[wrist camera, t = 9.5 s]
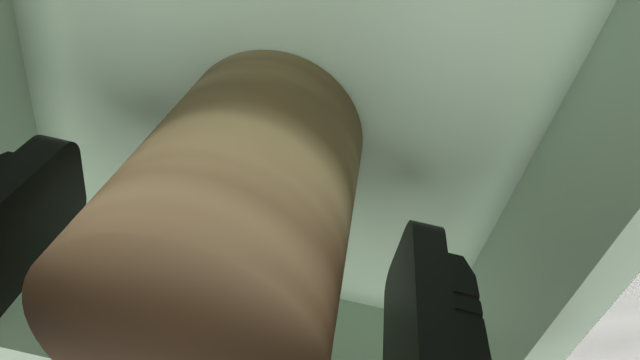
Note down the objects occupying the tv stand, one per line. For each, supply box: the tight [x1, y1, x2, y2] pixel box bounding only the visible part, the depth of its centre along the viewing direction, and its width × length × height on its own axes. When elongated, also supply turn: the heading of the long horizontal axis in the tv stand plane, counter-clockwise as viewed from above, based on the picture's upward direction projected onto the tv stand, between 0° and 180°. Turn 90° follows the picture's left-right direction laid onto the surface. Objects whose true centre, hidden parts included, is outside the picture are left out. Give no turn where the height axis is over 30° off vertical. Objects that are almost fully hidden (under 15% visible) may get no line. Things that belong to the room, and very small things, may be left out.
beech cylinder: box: [22, 50, 363, 360], centre depth 11 cm, size 5×5×7 cm
